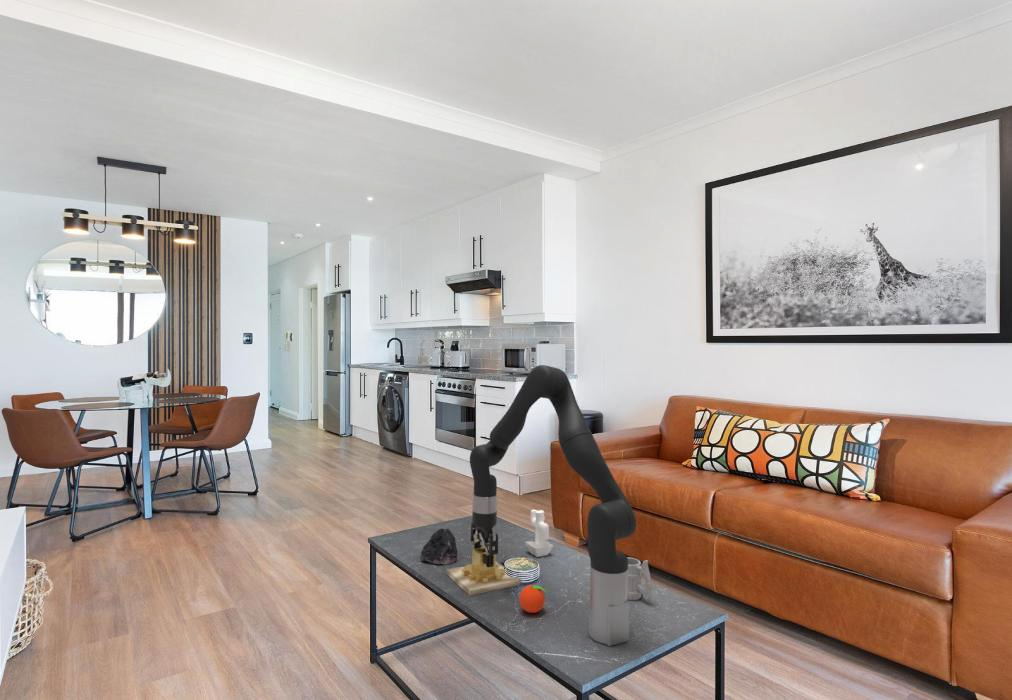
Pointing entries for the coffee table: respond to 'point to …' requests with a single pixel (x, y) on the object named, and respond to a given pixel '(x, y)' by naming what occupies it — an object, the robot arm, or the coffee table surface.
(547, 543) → the figurine
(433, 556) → the black rock
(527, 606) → the clementine
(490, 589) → the carrier plate
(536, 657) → the coffee table surface
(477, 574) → the gear
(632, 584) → the mug
